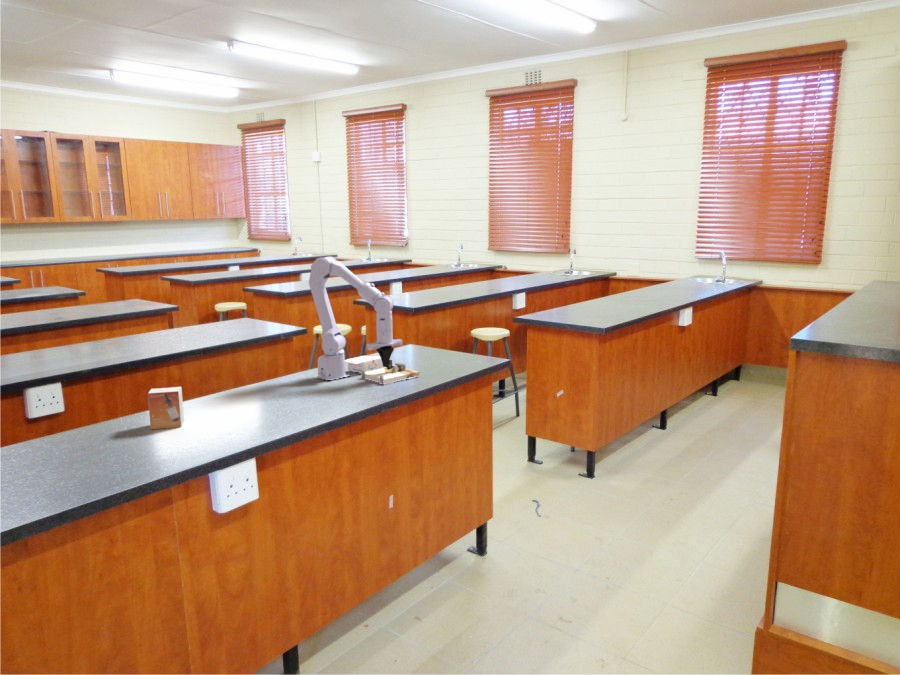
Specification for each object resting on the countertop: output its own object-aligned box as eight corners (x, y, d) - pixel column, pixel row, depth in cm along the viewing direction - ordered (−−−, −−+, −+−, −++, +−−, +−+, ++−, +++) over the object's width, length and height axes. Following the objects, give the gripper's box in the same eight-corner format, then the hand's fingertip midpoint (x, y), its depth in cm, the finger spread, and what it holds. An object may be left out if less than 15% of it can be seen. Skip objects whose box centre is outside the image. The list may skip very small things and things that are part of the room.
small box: (150, 430, 166) (146, 393, 164) (154, 423, 171) (150, 388, 169) (181, 427, 168) (178, 391, 166) (184, 421, 173) (181, 385, 171)
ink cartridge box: (369, 366, 240) (341, 372, 228) (369, 354, 239) (341, 359, 227) (384, 369, 235) (357, 376, 223) (384, 356, 234) (357, 362, 222)
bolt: (388, 372, 219) (387, 361, 218) (384, 371, 220) (384, 360, 219) (405, 369, 224) (404, 358, 223) (401, 368, 226) (401, 357, 225)
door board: (383, 385, 210) (382, 373, 209) (360, 378, 220) (359, 366, 220) (406, 379, 217) (406, 368, 217) (383, 373, 227) (383, 361, 227)
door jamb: (408, 379, 218) (407, 367, 217) (384, 373, 228) (384, 361, 227) (419, 377, 221) (419, 365, 221) (395, 370, 231) (395, 359, 231)
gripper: (374, 333, 209) (375, 371, 211) (407, 328, 218) (408, 365, 221) (363, 331, 214) (364, 368, 216) (395, 326, 223) (396, 362, 226)
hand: (385, 366), depth 219 cm, fingers closed
